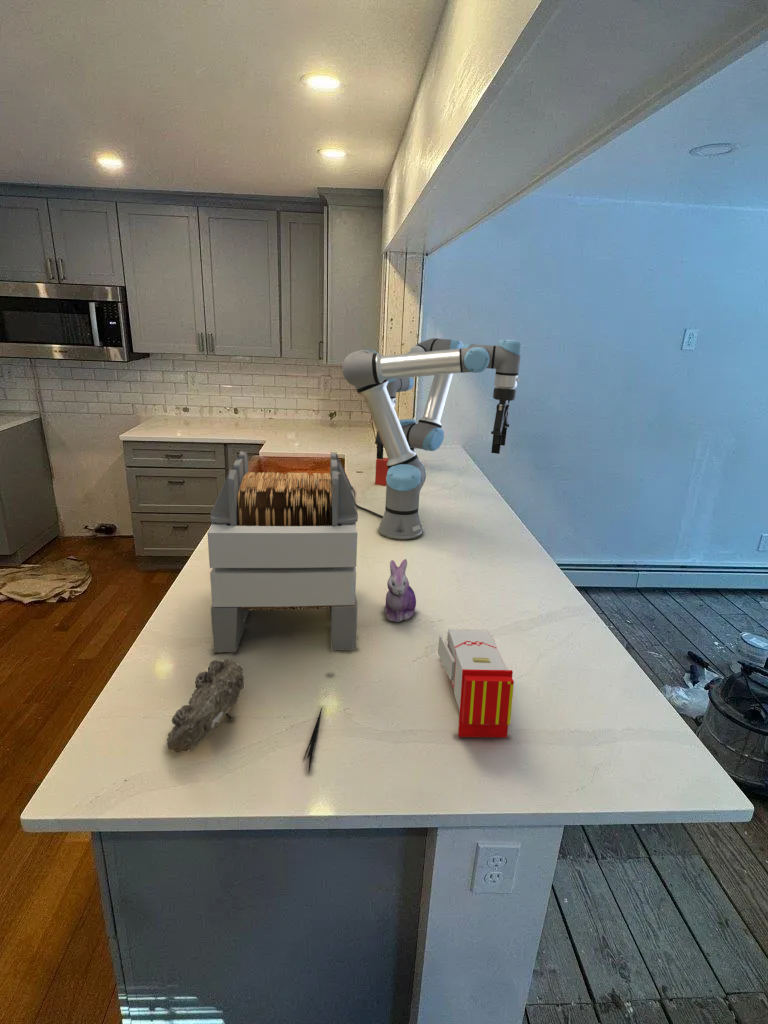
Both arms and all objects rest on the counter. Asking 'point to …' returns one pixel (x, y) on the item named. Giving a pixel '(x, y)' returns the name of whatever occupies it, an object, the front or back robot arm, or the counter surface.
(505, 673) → the toy
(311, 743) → the feather
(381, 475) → the brick
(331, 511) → the grey record crate stand
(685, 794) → the counter surface
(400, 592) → the figurine
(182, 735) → the fossil
